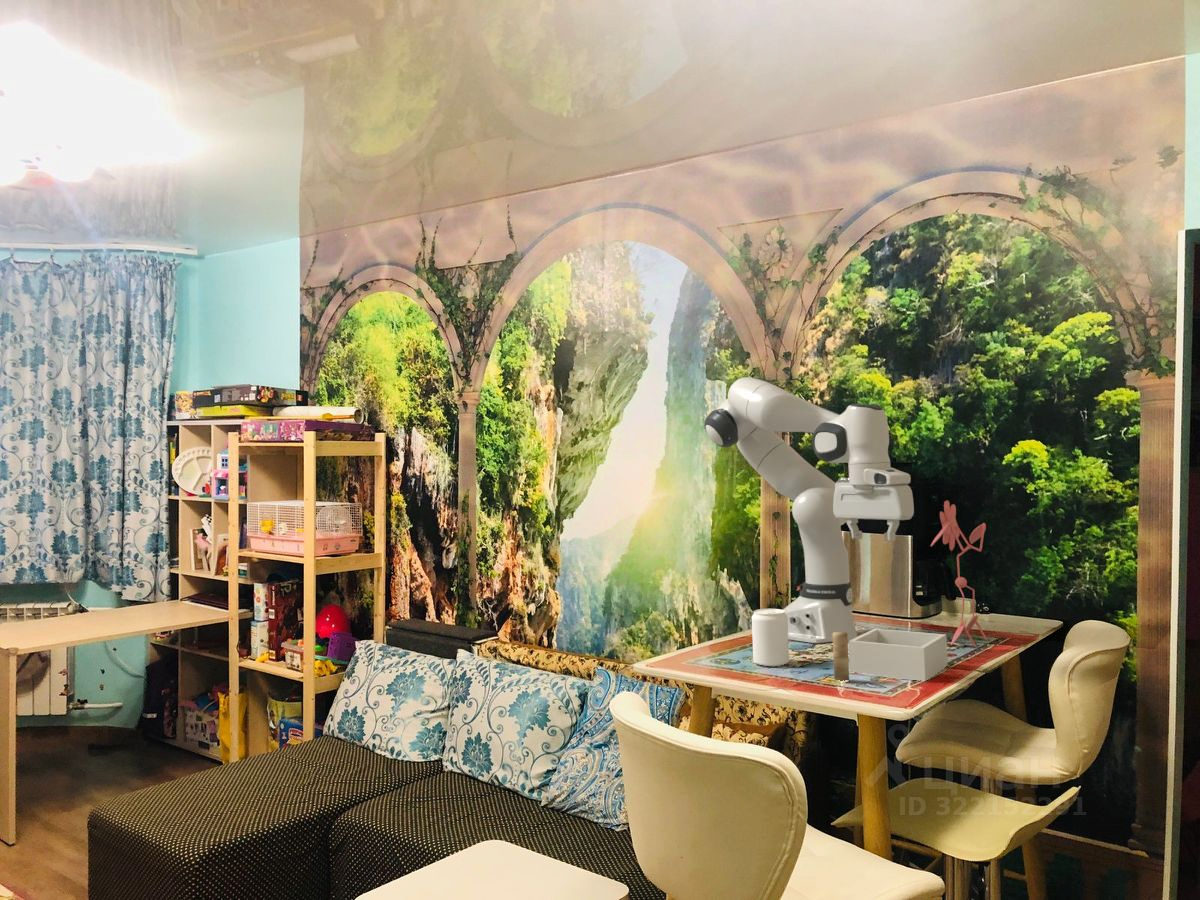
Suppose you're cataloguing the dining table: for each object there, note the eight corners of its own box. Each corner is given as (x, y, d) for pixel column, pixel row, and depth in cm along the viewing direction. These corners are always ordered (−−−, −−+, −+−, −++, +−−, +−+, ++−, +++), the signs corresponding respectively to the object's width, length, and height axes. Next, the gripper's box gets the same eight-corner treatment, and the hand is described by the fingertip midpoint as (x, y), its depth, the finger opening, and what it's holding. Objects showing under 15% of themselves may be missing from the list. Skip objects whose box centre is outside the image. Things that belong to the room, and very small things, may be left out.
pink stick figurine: (1000, 634, 230) (991, 496, 231) (968, 654, 210) (958, 503, 211) (939, 630, 239) (930, 498, 240) (903, 648, 219) (893, 504, 220)
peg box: (849, 673, 195) (848, 641, 195) (875, 659, 208) (874, 628, 208) (925, 682, 186) (923, 648, 186) (947, 666, 199) (946, 634, 199)
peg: (832, 682, 189) (830, 634, 189) (837, 678, 191) (835, 631, 191) (846, 683, 187) (844, 635, 187) (851, 680, 189) (849, 632, 189)
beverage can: (746, 662, 210) (744, 610, 210) (776, 658, 213) (774, 607, 213) (766, 669, 202) (764, 615, 202) (796, 664, 205) (794, 611, 205)
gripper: (825, 478, 205) (828, 539, 205) (895, 476, 188) (899, 543, 187) (845, 476, 209) (848, 537, 208) (916, 475, 191) (920, 540, 191)
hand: (873, 540), depth 198 cm, fingers open, 8 cm apart
